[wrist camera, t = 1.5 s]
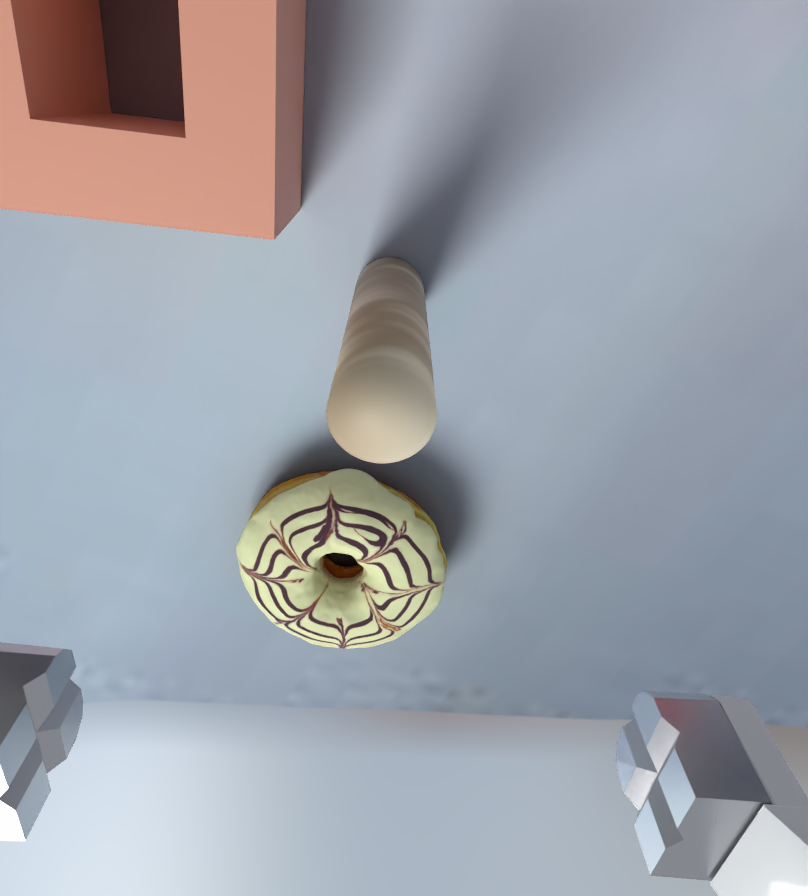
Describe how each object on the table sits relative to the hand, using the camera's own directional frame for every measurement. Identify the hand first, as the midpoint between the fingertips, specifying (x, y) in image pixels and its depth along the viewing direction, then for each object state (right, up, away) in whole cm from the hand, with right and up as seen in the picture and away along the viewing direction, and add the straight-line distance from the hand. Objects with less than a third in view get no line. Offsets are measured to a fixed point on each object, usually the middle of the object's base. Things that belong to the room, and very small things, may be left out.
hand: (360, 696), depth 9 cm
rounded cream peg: (0, +10, +18) cm, 21 cm away
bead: (-8, +18, +14) cm, 24 cm away
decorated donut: (-3, -1, +26) cm, 26 cm away
